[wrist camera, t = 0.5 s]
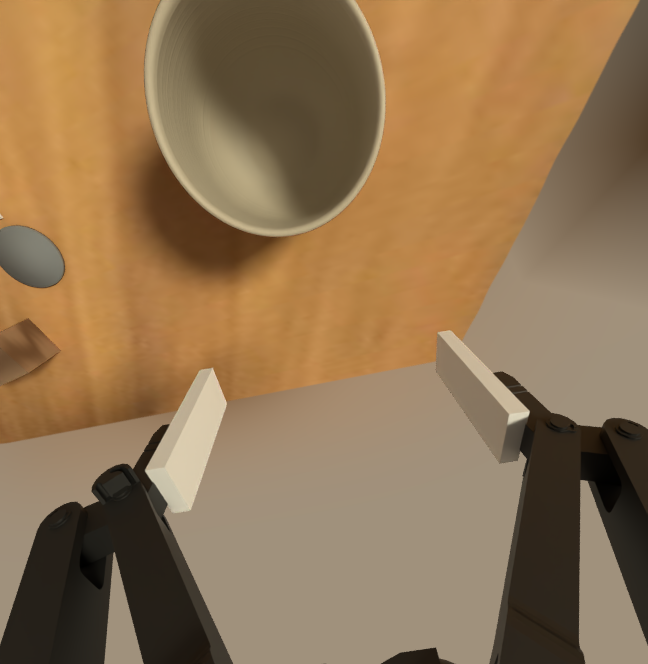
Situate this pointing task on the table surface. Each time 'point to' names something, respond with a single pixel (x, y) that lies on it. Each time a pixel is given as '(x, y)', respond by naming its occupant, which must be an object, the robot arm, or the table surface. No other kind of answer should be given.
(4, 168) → the table surface
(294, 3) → the planter
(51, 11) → the table surface
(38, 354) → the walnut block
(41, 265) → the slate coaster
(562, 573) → the robot arm
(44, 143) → the table surface
